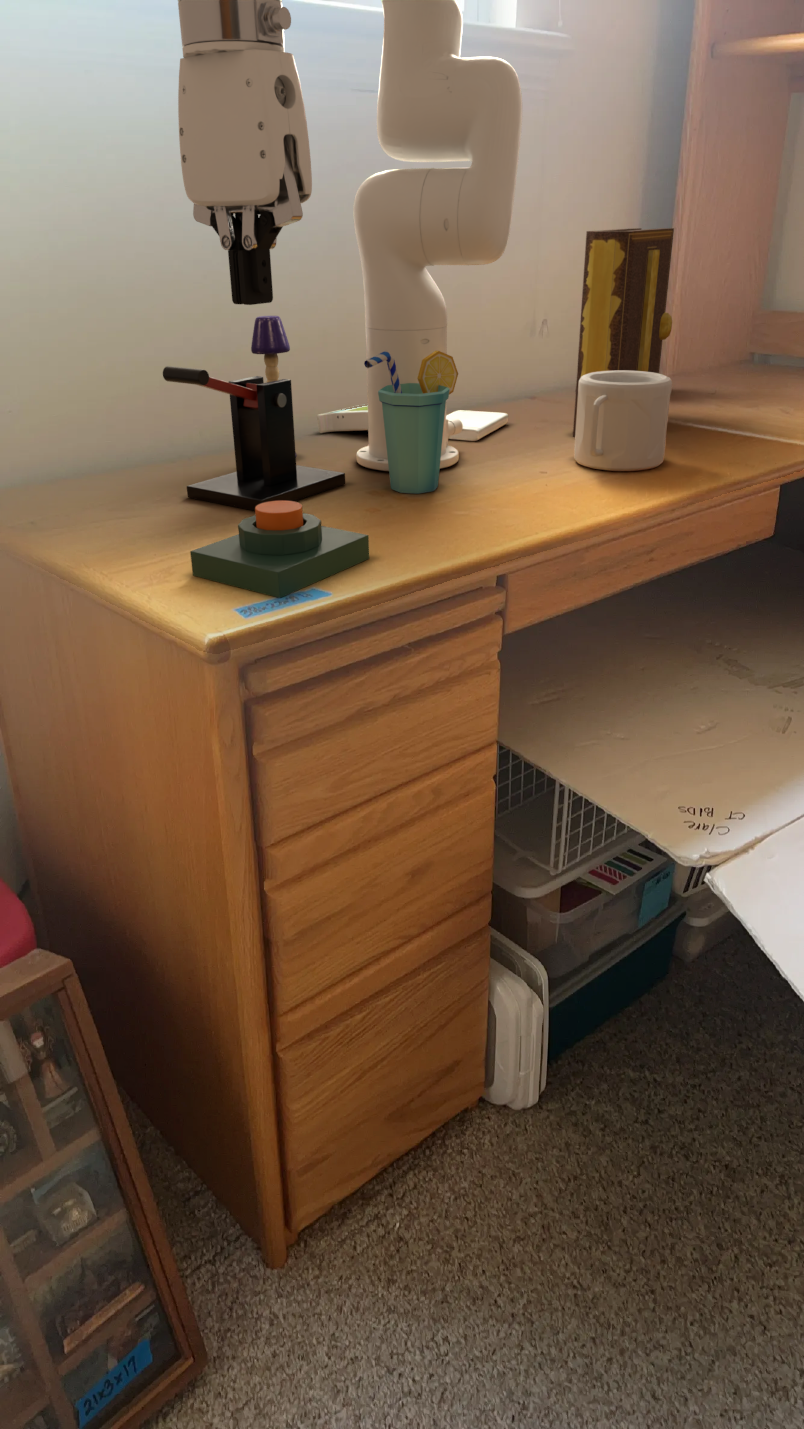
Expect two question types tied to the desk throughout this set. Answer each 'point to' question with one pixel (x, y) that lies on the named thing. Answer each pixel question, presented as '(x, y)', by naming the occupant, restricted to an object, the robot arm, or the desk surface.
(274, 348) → the toy lamp
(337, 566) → the control block
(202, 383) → the lever
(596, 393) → the mug
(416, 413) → the cup
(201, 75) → the robot arm
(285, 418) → the bracket
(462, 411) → the hard drive
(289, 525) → the button
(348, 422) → the handheld gaming console
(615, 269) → the book
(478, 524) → the desk surface
